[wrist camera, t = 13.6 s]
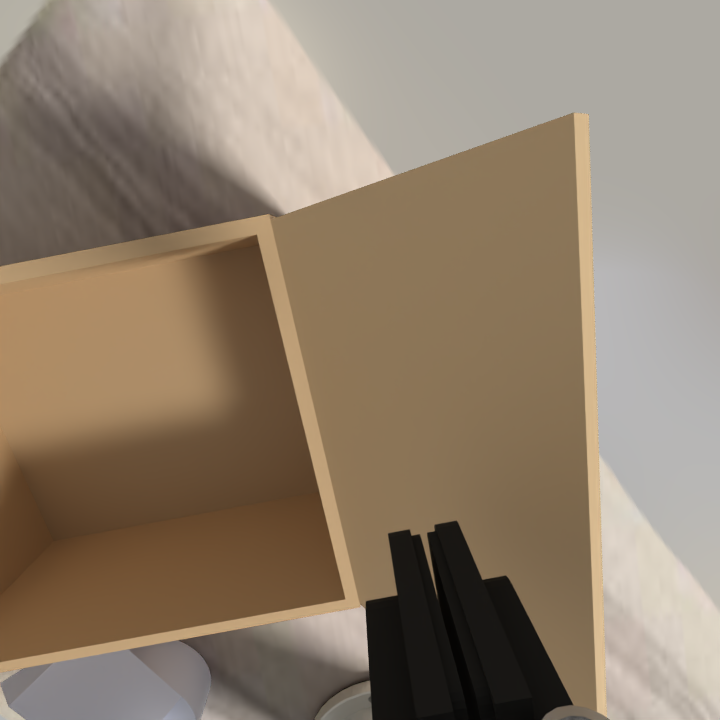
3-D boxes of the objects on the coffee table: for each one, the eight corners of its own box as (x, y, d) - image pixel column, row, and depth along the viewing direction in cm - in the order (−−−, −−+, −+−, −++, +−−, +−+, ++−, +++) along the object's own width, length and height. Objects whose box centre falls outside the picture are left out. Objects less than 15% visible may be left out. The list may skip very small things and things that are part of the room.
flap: (359, 603, 19) (368, 595, 20) (601, 805, 12) (608, 785, 12) (270, 219, 15) (284, 218, 15) (573, 112, 7) (588, 114, 7)
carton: (355, 488, 29) (360, 607, 20) (54, 543, 29) (-87, 688, 20) (298, 227, 24) (268, 213, 15) (-61, 296, 25) (-321, 328, 15)
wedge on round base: (35, 638, 32) (150, 734, 35) (-45, 739, 25) (106, 845, 28) (122, 582, 31) (233, 685, 34) (63, 671, 24) (207, 790, 27)
